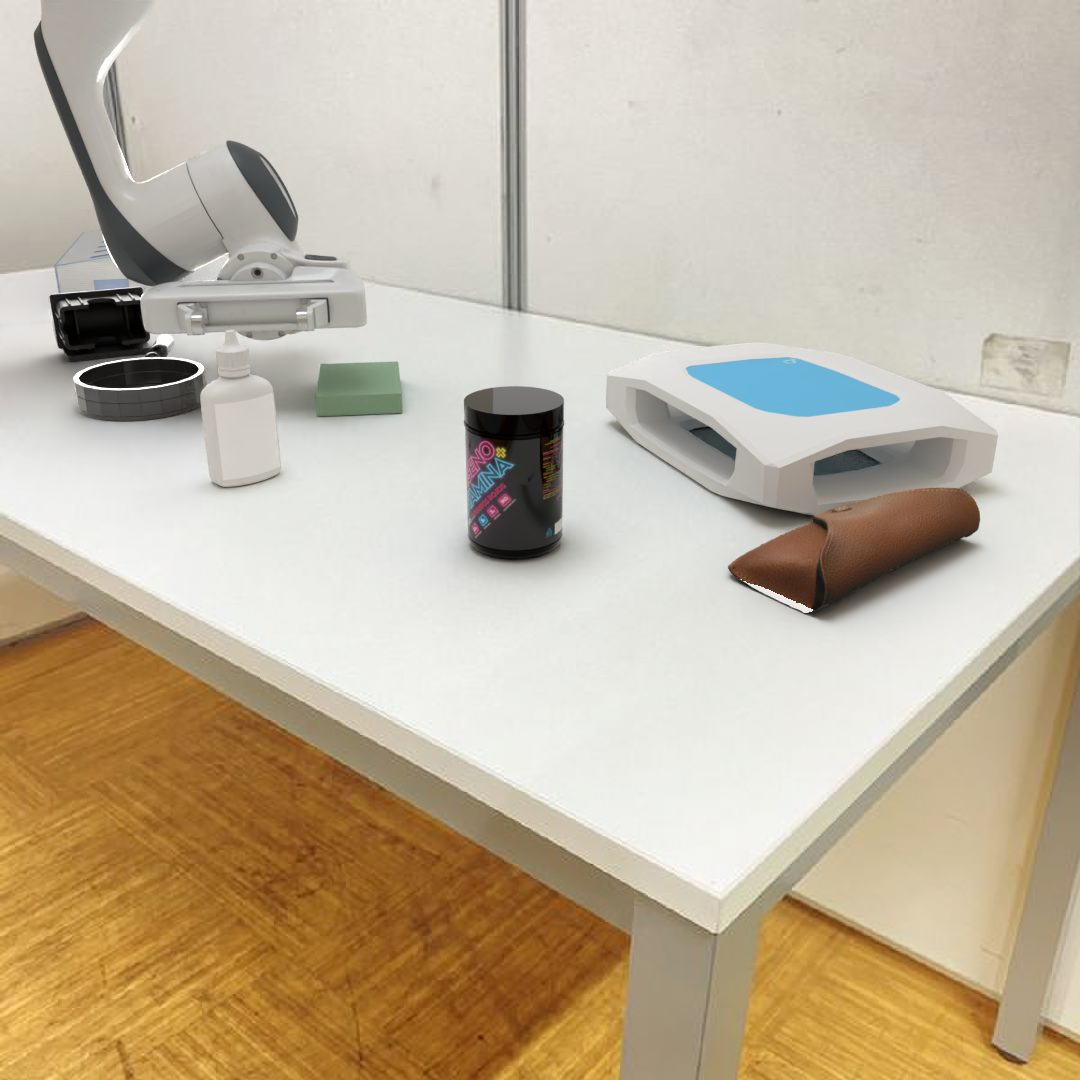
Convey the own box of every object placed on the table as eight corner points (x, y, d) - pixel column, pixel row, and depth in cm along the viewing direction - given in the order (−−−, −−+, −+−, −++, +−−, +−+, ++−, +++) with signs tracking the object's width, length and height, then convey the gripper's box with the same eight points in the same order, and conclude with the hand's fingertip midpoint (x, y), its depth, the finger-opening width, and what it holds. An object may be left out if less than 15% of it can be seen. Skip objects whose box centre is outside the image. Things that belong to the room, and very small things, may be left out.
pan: (65, 423, 104) (59, 392, 103) (93, 388, 115) (89, 359, 114) (198, 418, 106) (194, 387, 105) (214, 383, 117) (211, 355, 116)
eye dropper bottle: (281, 484, 90) (267, 335, 85) (208, 489, 89) (190, 339, 84) (281, 466, 94) (267, 323, 89) (211, 471, 93) (194, 326, 88)
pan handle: (143, 371, 116) (141, 354, 115) (159, 348, 124) (157, 332, 124) (161, 371, 116) (159, 354, 115) (176, 348, 125) (174, 332, 124)
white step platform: (766, 529, 82) (773, 447, 79) (601, 421, 105) (603, 355, 103) (995, 490, 89) (1008, 413, 86) (792, 397, 113) (798, 335, 110)
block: (317, 416, 107) (315, 396, 106) (321, 382, 117) (320, 363, 117) (402, 413, 108) (401, 393, 107) (399, 379, 118) (398, 361, 118)
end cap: (146, 339, 135) (137, 282, 132) (156, 352, 129) (148, 293, 126) (56, 348, 130) (46, 290, 128) (63, 362, 125) (52, 301, 122)
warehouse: (88, 269, 177) (80, 219, 174) (184, 265, 180) (178, 216, 177) (61, 308, 150) (51, 250, 147) (173, 303, 154) (166, 246, 150)
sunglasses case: (874, 502, 85) (925, 441, 80) (940, 571, 82) (997, 512, 78) (717, 569, 74) (766, 503, 69) (787, 651, 71) (842, 588, 67)
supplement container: (474, 522, 83) (471, 384, 79) (566, 526, 82) (568, 387, 78) (460, 560, 77) (455, 413, 72) (559, 564, 76) (560, 416, 72)
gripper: (148, 263, 108) (120, 291, 96) (364, 257, 111) (363, 284, 98) (158, 328, 111) (131, 364, 98) (368, 321, 113) (368, 355, 101)
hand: (249, 324), depth 98 cm, fingers open, 8 cm apart
